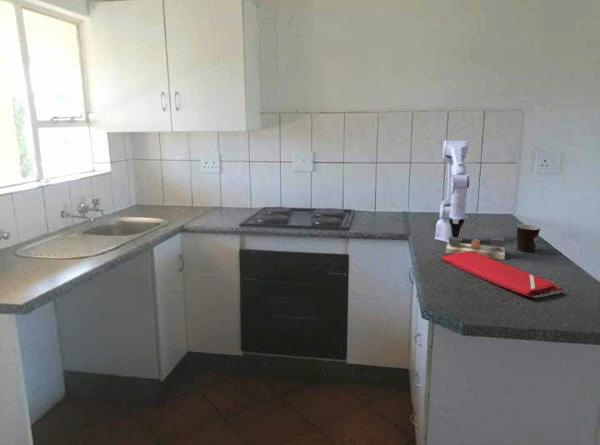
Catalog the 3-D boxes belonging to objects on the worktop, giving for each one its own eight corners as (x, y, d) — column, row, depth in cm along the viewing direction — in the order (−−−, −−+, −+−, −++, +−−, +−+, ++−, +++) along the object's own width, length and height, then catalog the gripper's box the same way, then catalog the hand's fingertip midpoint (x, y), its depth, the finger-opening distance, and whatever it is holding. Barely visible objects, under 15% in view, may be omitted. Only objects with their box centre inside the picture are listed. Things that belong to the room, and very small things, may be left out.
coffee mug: (524, 254, 188) (527, 230, 186) (509, 248, 197) (512, 225, 194) (548, 252, 192) (551, 228, 189) (532, 246, 200) (535, 223, 197)
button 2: (491, 245, 185) (491, 239, 184) (491, 242, 189) (491, 236, 188) (503, 246, 183) (503, 240, 183) (502, 243, 187) (503, 237, 187)
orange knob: (470, 248, 189) (471, 240, 188) (471, 246, 192) (471, 238, 191) (479, 249, 188) (480, 241, 187) (479, 247, 190) (480, 239, 190)
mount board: (445, 252, 189) (446, 246, 189) (447, 246, 199) (448, 240, 198) (504, 259, 182) (505, 253, 181) (503, 252, 191) (504, 246, 190)
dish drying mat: (473, 257, 186) (474, 248, 185) (563, 295, 149) (565, 284, 148) (440, 262, 180) (441, 253, 179) (526, 302, 143) (527, 291, 142)
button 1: (448, 244, 191) (449, 238, 190) (449, 241, 195) (450, 236, 194) (460, 245, 189) (460, 239, 189) (460, 242, 193) (461, 237, 193)
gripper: (467, 208, 180) (464, 242, 184) (469, 201, 193) (466, 233, 197) (448, 207, 183) (445, 240, 186) (451, 200, 196) (448, 231, 199)
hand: (455, 236), depth 192 cm, fingers closed
